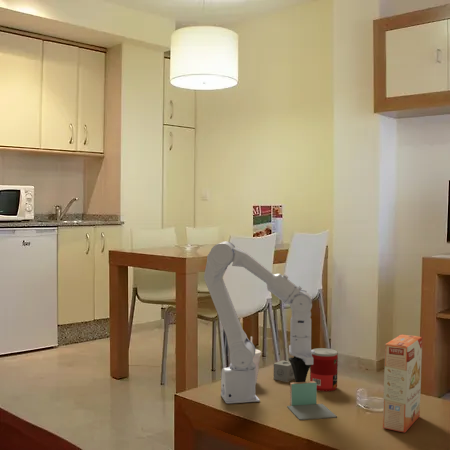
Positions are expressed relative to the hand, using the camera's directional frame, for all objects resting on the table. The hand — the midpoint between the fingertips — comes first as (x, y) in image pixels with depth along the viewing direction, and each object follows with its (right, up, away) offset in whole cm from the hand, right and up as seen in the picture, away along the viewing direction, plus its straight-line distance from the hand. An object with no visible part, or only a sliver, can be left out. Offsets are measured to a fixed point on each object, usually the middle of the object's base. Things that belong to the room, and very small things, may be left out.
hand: (300, 384), depth 165 cm
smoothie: (-13, -4, +17) cm, 22 cm away
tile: (+1, -2, -2) cm, 3 cm away
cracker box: (+24, -6, -16) cm, 29 cm away
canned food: (+9, -5, +13) cm, 16 cm away
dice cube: (-2, -4, +22) cm, 22 cm away
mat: (+2, -5, -9) cm, 10 cm away
